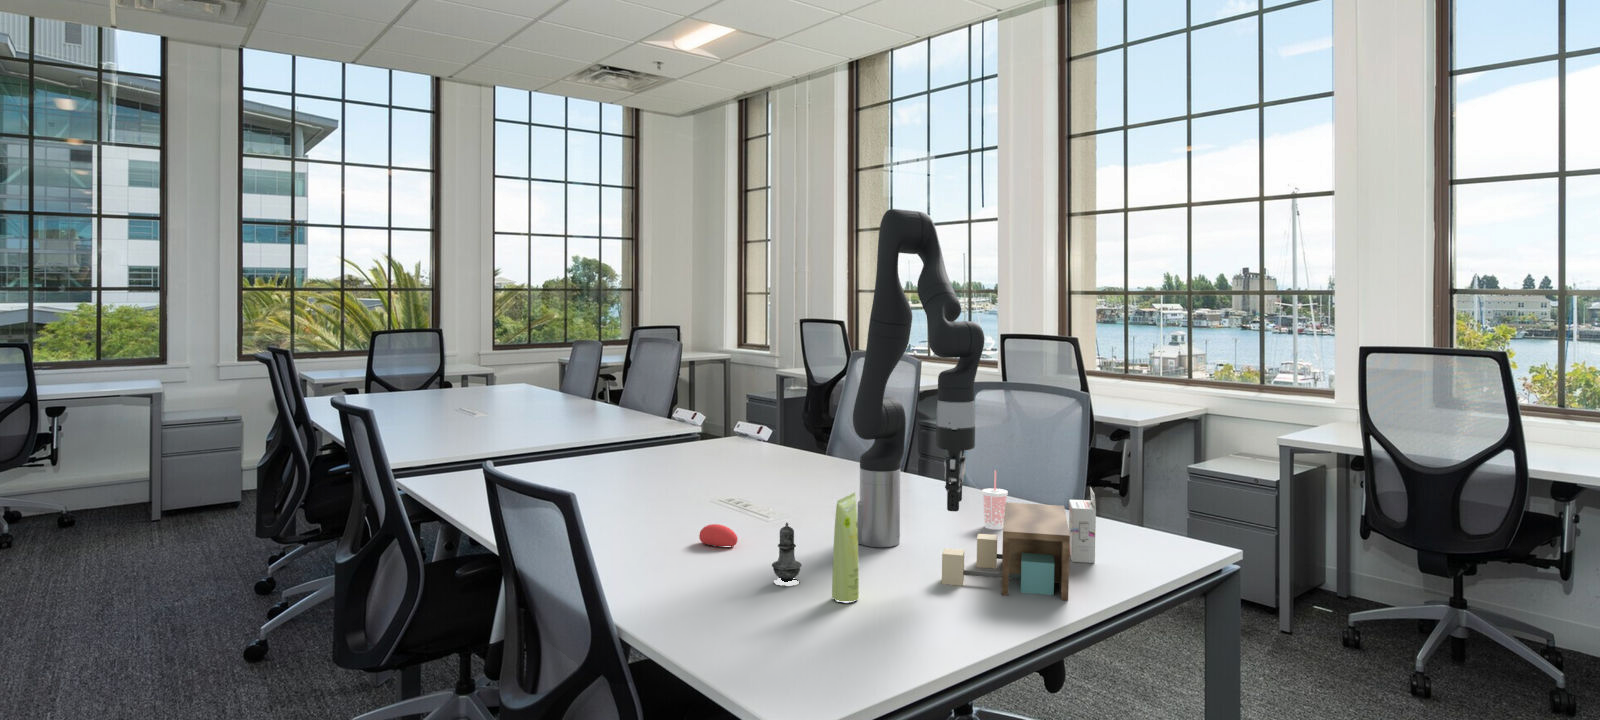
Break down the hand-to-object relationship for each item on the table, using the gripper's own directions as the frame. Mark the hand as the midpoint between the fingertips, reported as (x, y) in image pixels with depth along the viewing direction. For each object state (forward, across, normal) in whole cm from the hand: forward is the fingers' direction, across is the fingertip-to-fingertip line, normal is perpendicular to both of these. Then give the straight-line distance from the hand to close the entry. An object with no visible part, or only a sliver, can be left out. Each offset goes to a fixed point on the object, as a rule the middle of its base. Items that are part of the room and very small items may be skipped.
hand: (954, 505), depth 172 cm
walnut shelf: (+15, -6, +15) cm, 22 cm away
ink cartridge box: (+15, -24, +25) cm, 38 cm away
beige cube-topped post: (+15, -13, +11) cm, 23 cm away
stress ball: (+15, -12, -54) cm, 57 cm away
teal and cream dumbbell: (+15, 0, +8) cm, 17 cm away
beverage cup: (+15, -45, +6) cm, 48 cm away
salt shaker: (+15, +9, -32) cm, 36 cm away
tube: (+15, +16, -19) cm, 29 cm away
